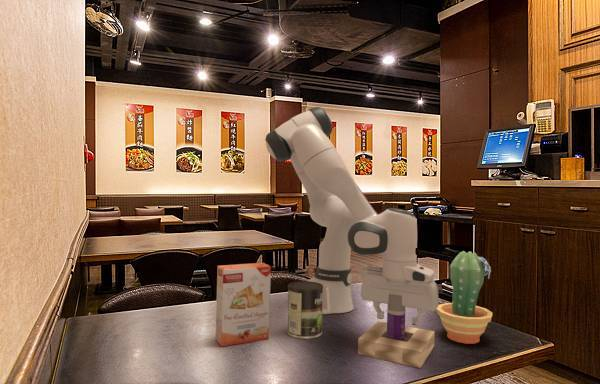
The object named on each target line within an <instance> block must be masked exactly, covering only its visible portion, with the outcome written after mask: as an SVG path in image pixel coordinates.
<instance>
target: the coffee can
mask: <svg viewBox="0 0 600 384" xmlns="http://www.w3.org/2000/svg"><path fill="white" fill-rule="evenodd" d="M287 289H288V290H287V292H288V293H287V295H288V297H287V304H288V305H287V334H288V335H289V336H290V337H292V338H295V339H301V340H311V339H316V338H319V337H321V336H322V335H323V326H322V325H323V314H322V294H323V285H322V284H320V283H317V282H310V281H309V280H303V281H300V280H299V281H293V282H290V283H288V285H287Z"/></svg>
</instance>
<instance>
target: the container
mask: <svg viewBox="0 0 600 384" xmlns="http://www.w3.org/2000/svg"><path fill="white" fill-rule="evenodd" d="M386 313H387V315H386V323H387V338H390V339H395V340H400V341H405V326H406V307H403V306H402V296H396V295H390V294H389V301H388V304H387V311H386Z"/></svg>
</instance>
